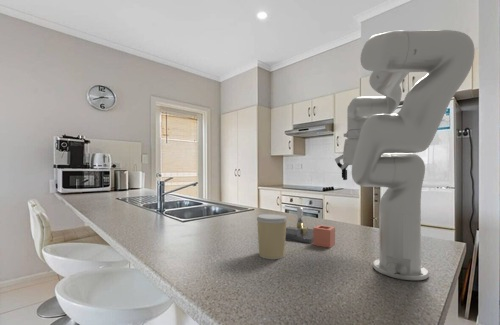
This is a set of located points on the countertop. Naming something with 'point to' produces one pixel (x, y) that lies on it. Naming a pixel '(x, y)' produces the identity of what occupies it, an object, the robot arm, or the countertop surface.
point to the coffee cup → (271, 235)
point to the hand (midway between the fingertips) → (358, 180)
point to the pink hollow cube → (324, 236)
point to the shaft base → (302, 237)
